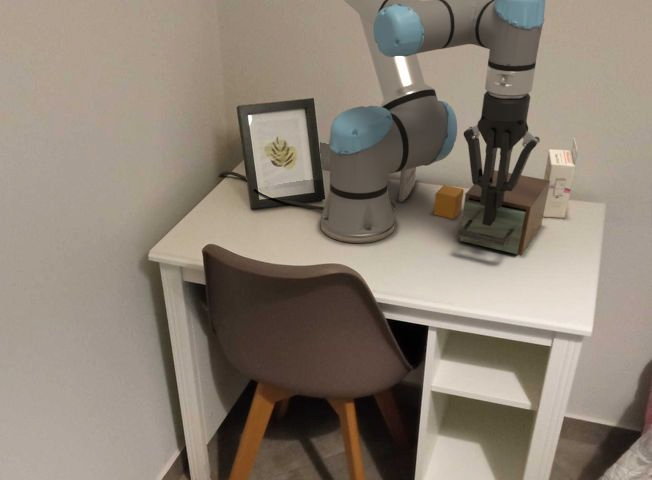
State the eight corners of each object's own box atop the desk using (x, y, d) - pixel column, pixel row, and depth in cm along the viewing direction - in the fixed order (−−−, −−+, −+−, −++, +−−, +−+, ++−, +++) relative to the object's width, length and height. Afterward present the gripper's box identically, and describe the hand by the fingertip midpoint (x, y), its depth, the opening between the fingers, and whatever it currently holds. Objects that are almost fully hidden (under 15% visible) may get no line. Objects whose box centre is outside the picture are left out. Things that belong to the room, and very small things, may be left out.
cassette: (404, 202, 156) (407, 169, 151) (396, 201, 157) (398, 168, 152) (417, 181, 165) (419, 149, 160) (409, 180, 166) (411, 148, 161)
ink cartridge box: (538, 200, 156) (550, 134, 147) (561, 201, 155) (575, 135, 146) (540, 217, 149) (554, 149, 140) (565, 218, 148) (580, 150, 139)
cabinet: (521, 255, 136) (530, 207, 130) (459, 240, 141) (465, 193, 135) (541, 226, 146) (550, 180, 140) (481, 214, 151) (488, 168, 145)
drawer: (506, 268, 131) (513, 228, 126) (448, 254, 135) (452, 214, 130) (535, 227, 143) (542, 189, 138) (480, 215, 148) (486, 178, 143)
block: (433, 214, 151) (435, 192, 148) (441, 206, 154) (443, 184, 151) (453, 218, 149) (456, 196, 146) (461, 210, 152) (463, 188, 149)
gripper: (462, 93, 117) (448, 222, 131) (540, 104, 112) (517, 238, 126) (477, 81, 122) (462, 207, 136) (553, 91, 117) (529, 221, 131)
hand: (488, 222), depth 131 cm, fingers closed
